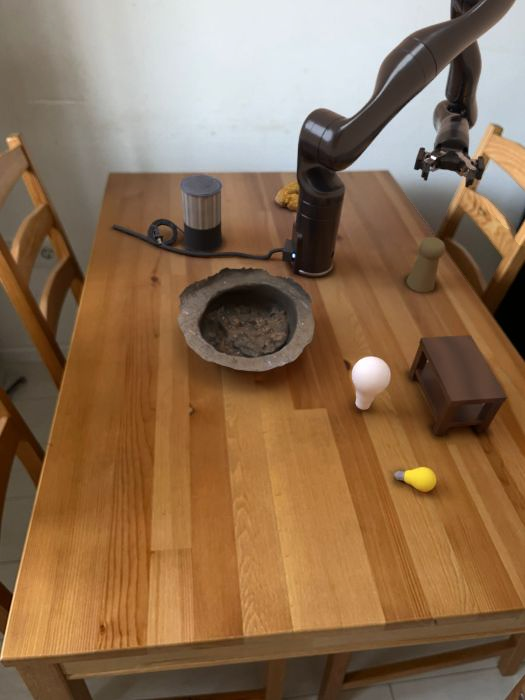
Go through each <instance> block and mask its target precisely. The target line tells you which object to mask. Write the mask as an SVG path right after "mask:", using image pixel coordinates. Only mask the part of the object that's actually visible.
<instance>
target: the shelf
mask: <svg viewBox="0 0 525 700" xmlns="http://www.w3.org/2000/svg"><path fill="white" fill-rule="evenodd" d="M408 375H409V378H410V380H411V381H415V380H416V381H418V382H419V385H420V387H421V390H422V392H423V394H424V396H425V398H426V401H427V403H428V405H429V407H430V410H431V412H432V414H433V417H434V419H435V421H434V423H433V425H432V427H431V428H432V430H433V433H434V435H435V436H443V435H444V436H445V435H446V433H447V431H448V429H449V428H451V427H466V426H473V428H474V429H475V432H476V433H485V432H487V430H488V429H489V427H490V425H491V424H492V422H493V421H494V419H495V417H496V416H497V413H498V412H499V410H500V408H501V407H502V405H503V404H504V403H505V402H506V401H507V399H508V396H507V393H506V392H505V391H504V389H503V387H502V386H501V384H500V382H499V380H498V379H497V377H496V376H495V375H496V374H494V372H493V370H492V369H491V367H490V365H489V363H488V362H487V360H486V358H485V356H484V355H483V354H482V352H481V350H480V348H479V347H478V345H477V343H476V341H475V340H474V339H473V336H472V335H471V334H464V335H447V336H445V335H443V336H427V337H420V339H419V341H418V347H417V350H416V353H415V355H414V358H413V361H412V364H411V367H410V369H409V372H408Z"/></svg>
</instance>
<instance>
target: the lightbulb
mask: <svg viewBox="0 0 525 700" xmlns="http://www.w3.org/2000/svg"><path fill="white" fill-rule="evenodd" d="M352 367H353V368H352V371H351V380H352V384H353V386H354V387H355V405H356V407H357V408H358V409H359V410H363V411H366V410H368V409H370V407H371V405H372V402H374V400H375V398H376V397H377V395H379V394H381V393H382V392H384V391H385V390H386V389H387V387H388V386H389V385H390V382H391V378H392V377H391V376H392V374H391V370H390V367H389V365H388V363H386V361H384V360H383V359H382V358H380V357H377V356H365V357H363V358H360V359H359V360H358V361H356V363H355V364H354V365H353V366H352Z"/></svg>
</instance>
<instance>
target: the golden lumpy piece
mask: <svg viewBox="0 0 525 700" xmlns="http://www.w3.org/2000/svg"><path fill="white" fill-rule="evenodd" d="M298 196H299V186H298V183H297V180H295V181H292V182H290V183H288V184H287V185H286V186H285V187H283V188H281V189H280V190H279V191H278V192H277V194H276V196H275V197H274V201H275V203H276V204H277V205H278V206H280V207H283V208H287V209H289V210H290V211H296V212H297V205H298Z"/></svg>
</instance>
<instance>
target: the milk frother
mask: <svg viewBox="0 0 525 700" xmlns="http://www.w3.org/2000/svg"><path fill="white" fill-rule="evenodd" d="M179 188H180V189H181V204H182V216H183V217H182V218H183V230H182V228H180V227H179V226H178V225H176V223H174V222H173V221H171V220H169V219H167V218H159V219H156V220H153V222H152V223H151V224H150V225H149V226H148V229H147V231H146V232H147V233H146V237H148V240H149V241H150V242H151V243H150V242H149V243H150V244H152V245H154V246H157V247H159V245H161V244H164V245H167V246H171V245H174V244H175V242H176V241H177V239H178V237H179V232H180V233H181V234H183V240H182V241H183V245H184V247H185V249H187V250H188V251H192V252H201V253H214V252H216V251H217V250H219V249H220V248H221V247H223V242H224V241H223V232H222V189H223V183H222V181H221V180H220V179H219V178H217V177H215V176H213V175H208V174H203V173H202V174H193V175H189V176H186V177H185V178H183V179H182V180H180V182H179ZM160 226H166V227H168V228H169V229H170V230H171V231H172V236H171V237H170V238H169V239H166V240H163V238H164V235H163V234H162V233H161V231H160V229H159V227H160Z"/></svg>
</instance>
